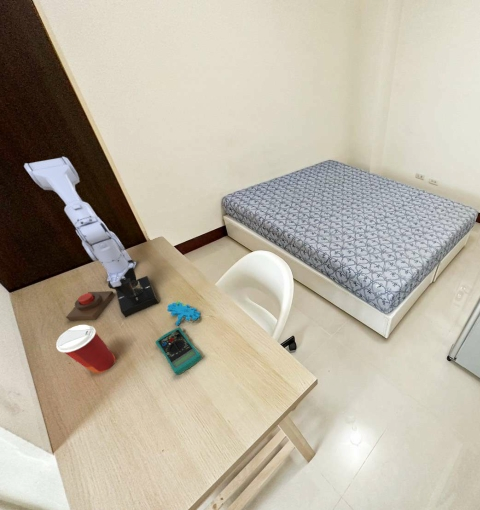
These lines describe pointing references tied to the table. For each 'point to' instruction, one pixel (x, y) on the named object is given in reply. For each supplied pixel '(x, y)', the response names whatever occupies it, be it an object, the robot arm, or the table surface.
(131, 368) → the table surface
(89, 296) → the button
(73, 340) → the paper cup
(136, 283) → the dial
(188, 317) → the blue toy tree
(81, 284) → the table surface
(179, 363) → the digital multimeter
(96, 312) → the button block
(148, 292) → the dial panel
